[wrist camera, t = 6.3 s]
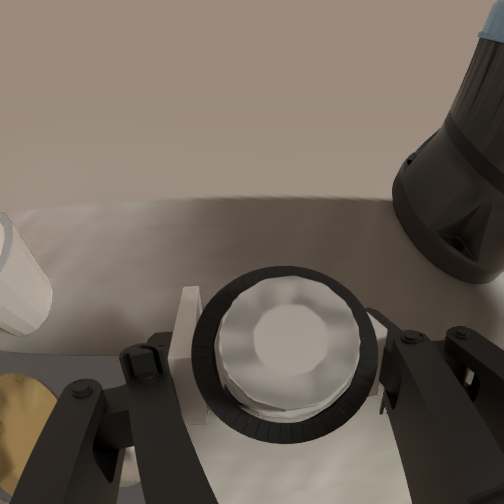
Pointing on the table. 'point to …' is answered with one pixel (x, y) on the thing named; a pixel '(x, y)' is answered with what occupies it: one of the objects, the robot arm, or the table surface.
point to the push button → (284, 354)
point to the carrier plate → (49, 410)
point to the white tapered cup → (21, 284)
